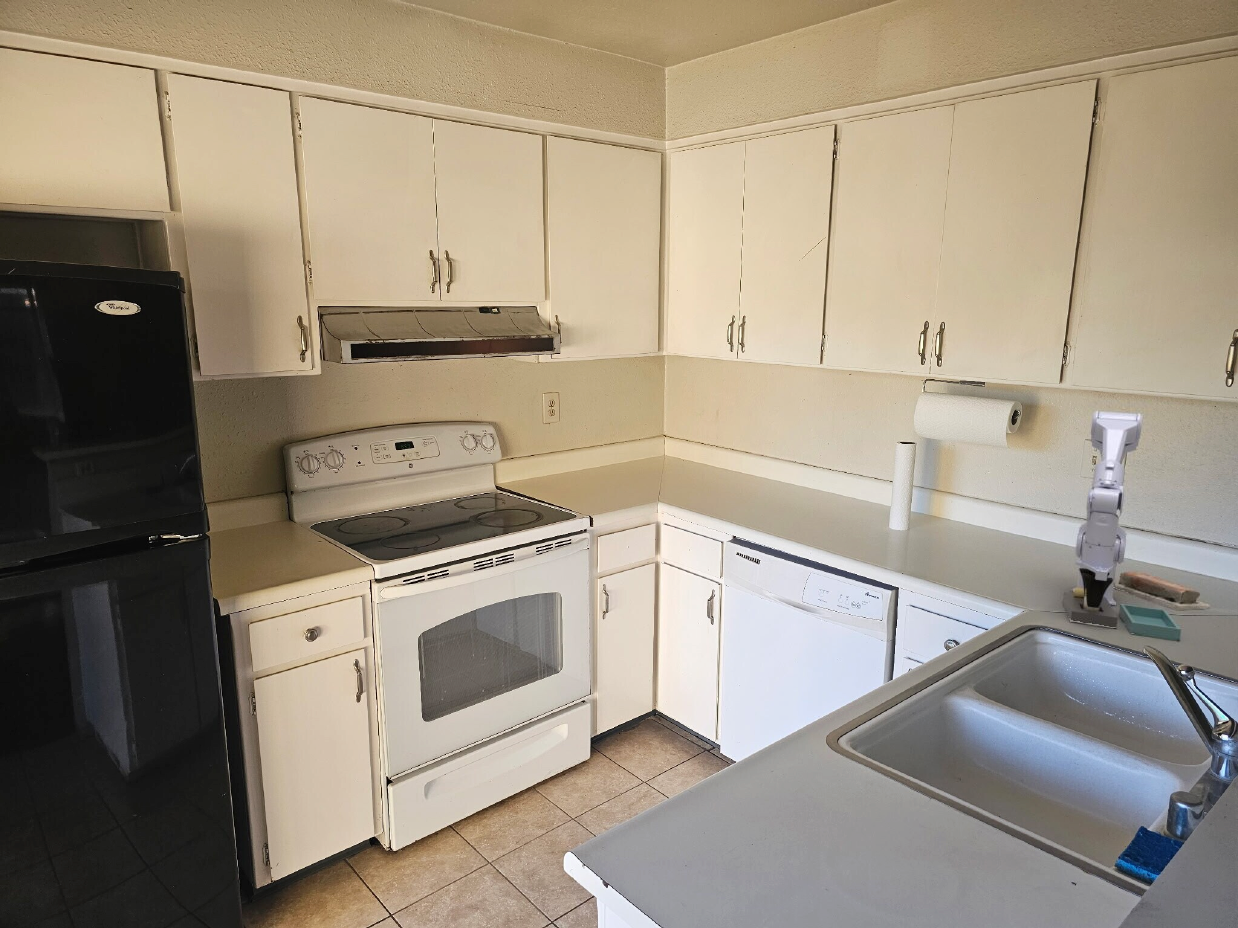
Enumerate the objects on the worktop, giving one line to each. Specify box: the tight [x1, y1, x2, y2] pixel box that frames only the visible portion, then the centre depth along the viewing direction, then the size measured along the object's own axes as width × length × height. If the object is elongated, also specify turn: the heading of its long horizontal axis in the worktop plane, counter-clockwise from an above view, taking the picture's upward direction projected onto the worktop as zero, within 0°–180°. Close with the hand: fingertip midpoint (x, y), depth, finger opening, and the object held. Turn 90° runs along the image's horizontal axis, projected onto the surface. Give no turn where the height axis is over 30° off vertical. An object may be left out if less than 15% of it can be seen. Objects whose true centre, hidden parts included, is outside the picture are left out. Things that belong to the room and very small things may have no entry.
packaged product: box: [1114, 571, 1211, 611], centre depth 194 cm, size 18×5×10 cm
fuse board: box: [1062, 587, 1119, 629], centre depth 178 cm, size 16×8×4 cm, turn 157°
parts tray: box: [1118, 603, 1182, 642], centre depth 172 cm, size 14×8×2 cm, turn 157°
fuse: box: [1083, 590, 1100, 611], centre depth 176 cm, size 3×3×7 cm
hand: (1091, 604), depth 176 cm, fingers closed on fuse, 3 cm apart
